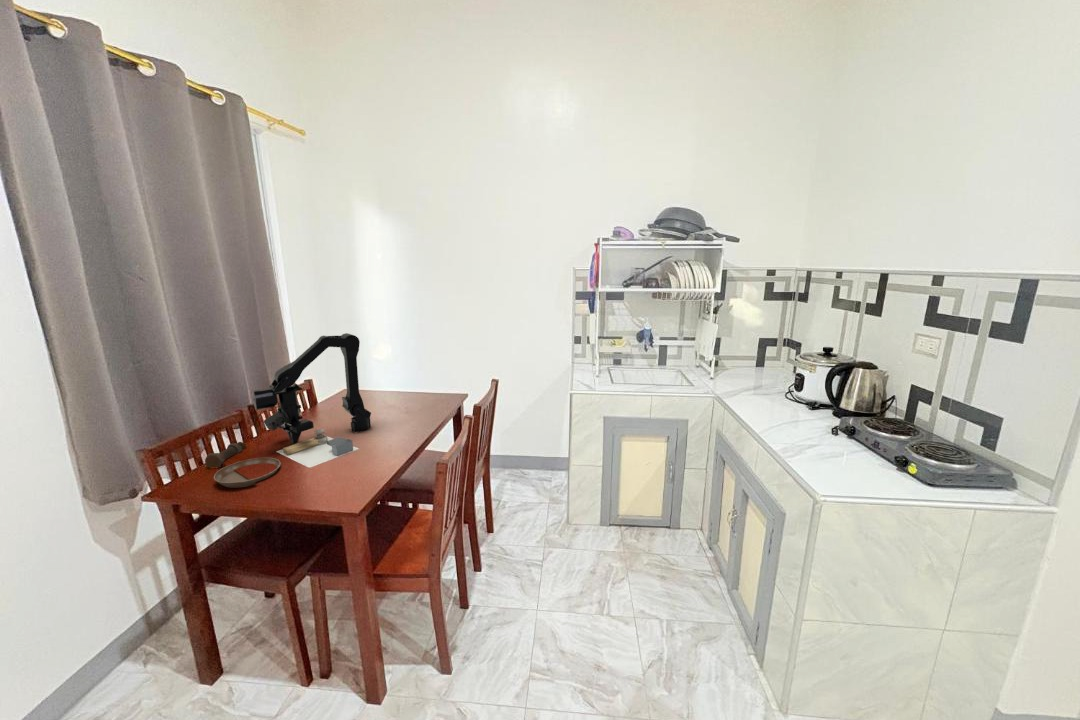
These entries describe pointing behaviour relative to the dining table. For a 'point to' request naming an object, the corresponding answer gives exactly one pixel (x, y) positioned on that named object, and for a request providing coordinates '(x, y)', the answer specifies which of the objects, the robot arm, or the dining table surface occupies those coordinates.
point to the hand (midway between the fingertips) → (294, 444)
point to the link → (307, 443)
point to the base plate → (314, 454)
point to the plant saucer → (237, 480)
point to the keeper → (340, 446)
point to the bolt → (224, 454)
